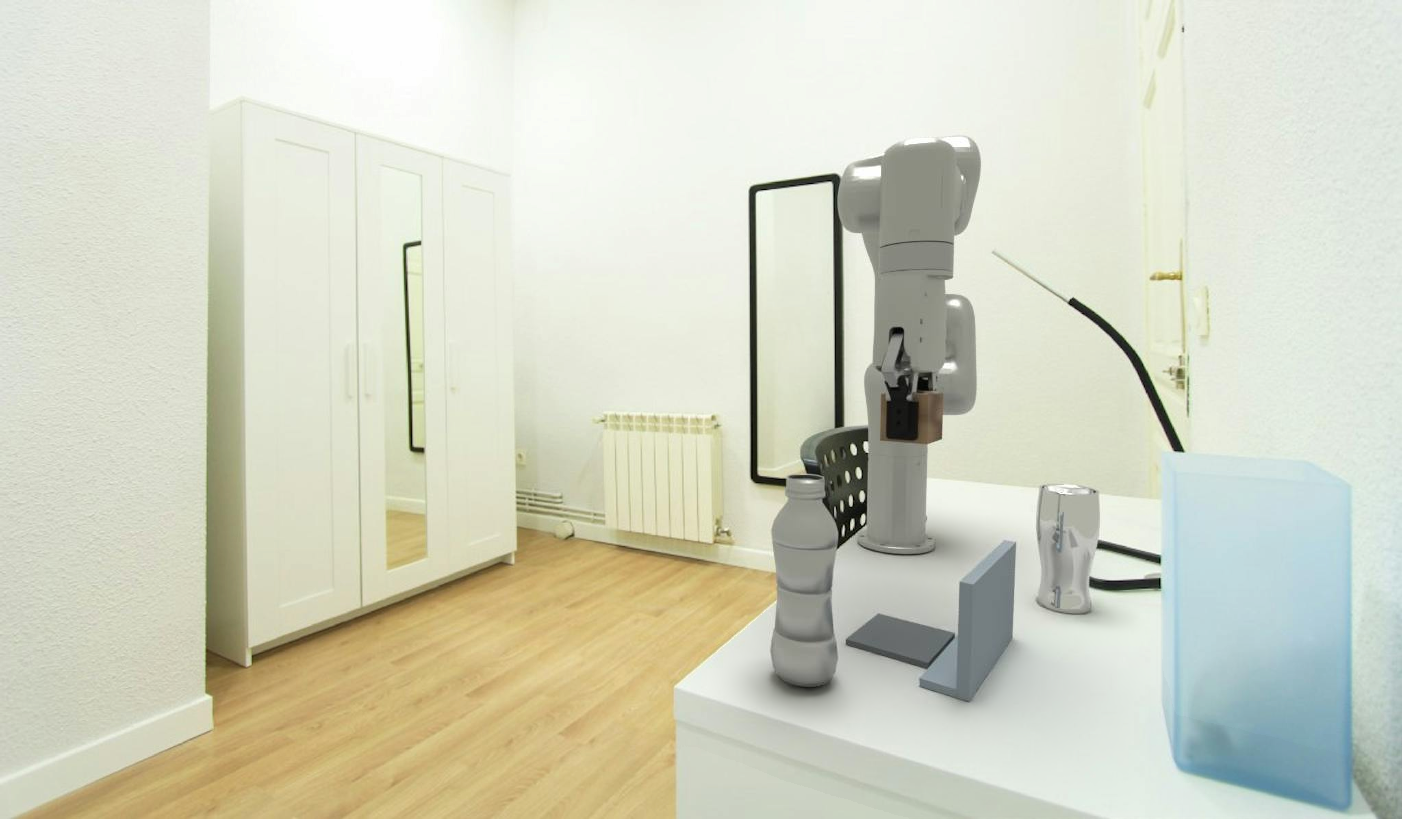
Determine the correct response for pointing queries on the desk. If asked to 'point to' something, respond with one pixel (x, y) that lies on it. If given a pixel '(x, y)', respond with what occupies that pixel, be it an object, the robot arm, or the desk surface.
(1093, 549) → the beer glass
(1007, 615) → the screen
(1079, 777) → the desk surface
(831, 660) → the plastic bottle
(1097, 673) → the desk surface
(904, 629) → the mat
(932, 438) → the letter cube
